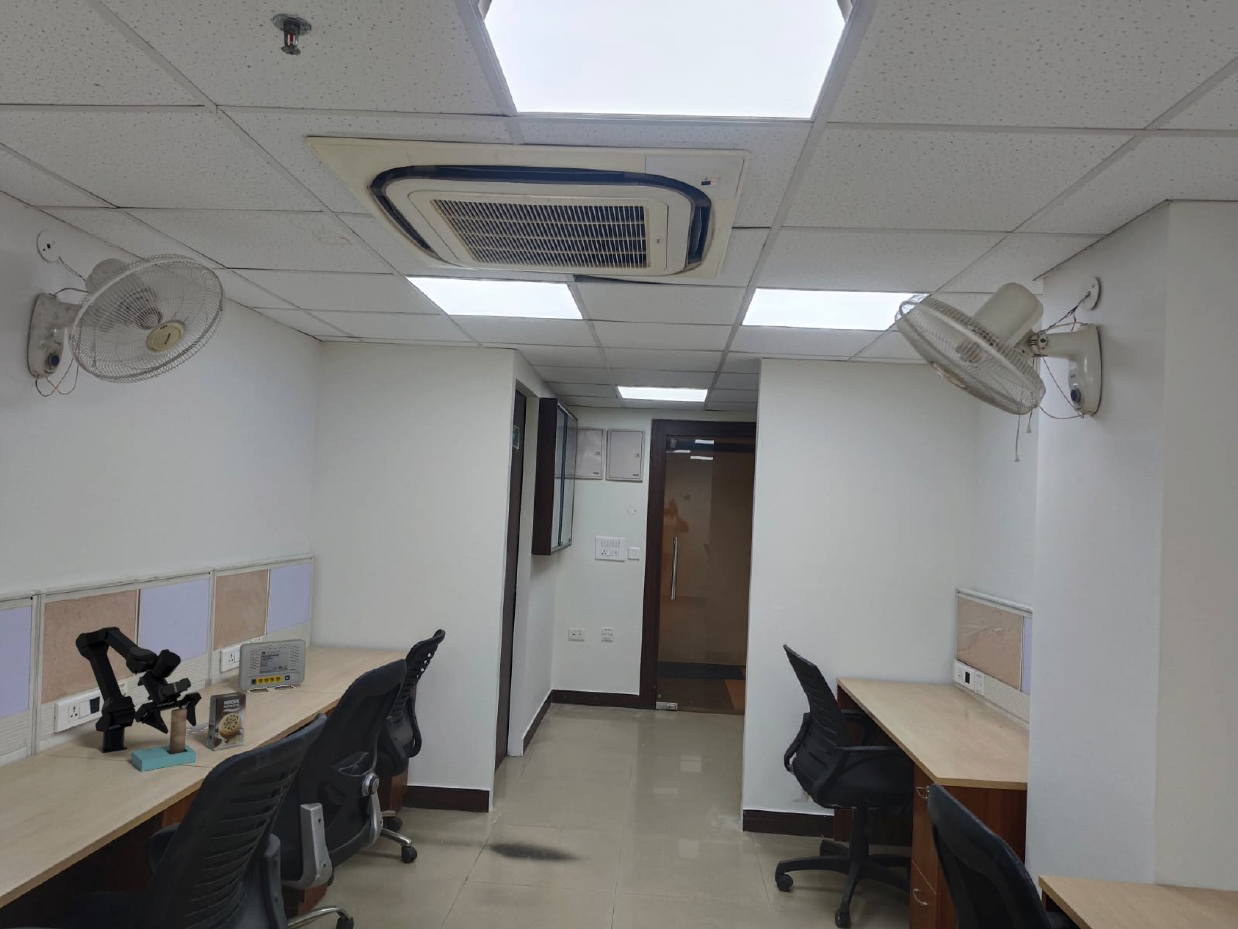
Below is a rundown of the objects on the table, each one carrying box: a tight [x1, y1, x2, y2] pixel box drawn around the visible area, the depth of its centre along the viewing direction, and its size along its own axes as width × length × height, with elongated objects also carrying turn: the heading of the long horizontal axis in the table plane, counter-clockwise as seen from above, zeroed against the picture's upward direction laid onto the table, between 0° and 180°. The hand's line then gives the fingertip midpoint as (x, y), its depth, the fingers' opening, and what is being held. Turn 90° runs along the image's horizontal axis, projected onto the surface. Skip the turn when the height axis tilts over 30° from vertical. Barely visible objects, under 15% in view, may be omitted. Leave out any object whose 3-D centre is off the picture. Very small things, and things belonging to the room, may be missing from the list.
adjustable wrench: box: [186, 721, 209, 734], centre depth 276 cm, size 25×6×2 cm, turn 154°
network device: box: [237, 638, 307, 691], centre depth 332 cm, size 26×9×20 cm, turn 130°
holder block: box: [130, 743, 197, 772], centre depth 235 cm, size 12×14×3 cm
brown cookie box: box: [206, 691, 247, 751], centre depth 252 cm, size 9×6×16 cm
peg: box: [169, 708, 187, 755], centre depth 236 cm, size 4×4×15 cm
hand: (181, 729), depth 235 cm, fingers open, 9 cm apart
